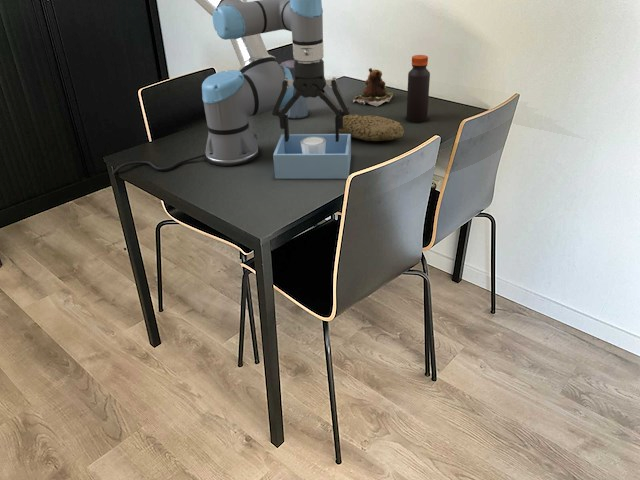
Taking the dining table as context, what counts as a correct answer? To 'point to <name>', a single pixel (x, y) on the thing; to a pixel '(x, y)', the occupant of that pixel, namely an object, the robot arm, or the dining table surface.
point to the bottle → (418, 89)
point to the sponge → (371, 128)
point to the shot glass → (313, 145)
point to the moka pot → (300, 105)
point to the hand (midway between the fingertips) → (312, 139)
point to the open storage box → (312, 158)
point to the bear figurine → (374, 90)
